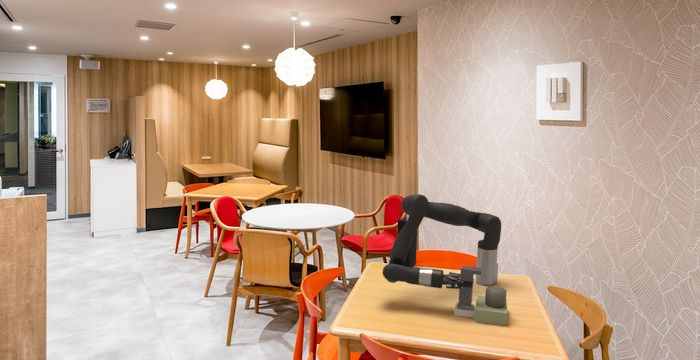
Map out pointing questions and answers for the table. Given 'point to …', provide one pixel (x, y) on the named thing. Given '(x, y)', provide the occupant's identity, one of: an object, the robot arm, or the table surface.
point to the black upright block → (411, 255)
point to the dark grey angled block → (467, 276)
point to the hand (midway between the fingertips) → (473, 282)
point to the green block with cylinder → (487, 307)
